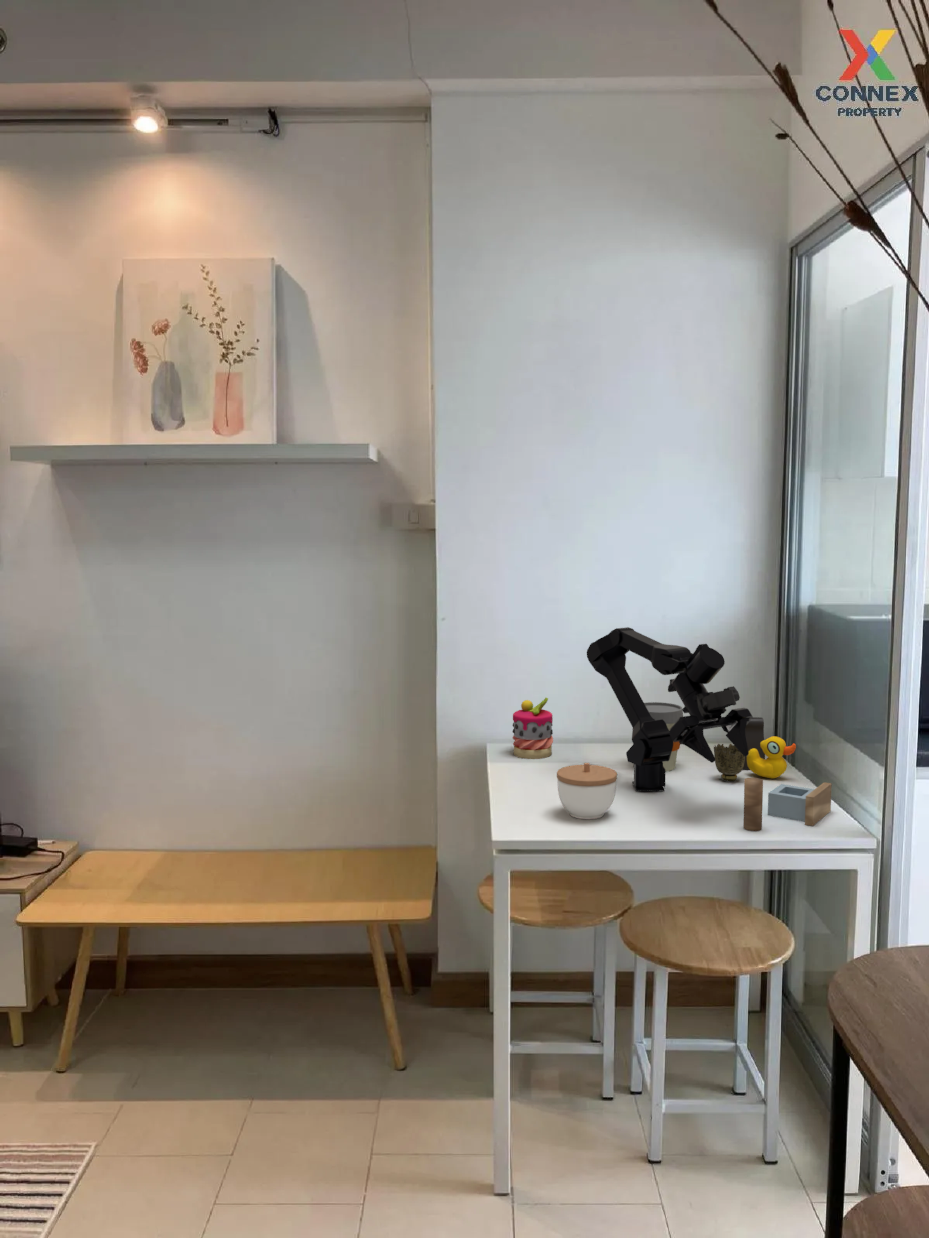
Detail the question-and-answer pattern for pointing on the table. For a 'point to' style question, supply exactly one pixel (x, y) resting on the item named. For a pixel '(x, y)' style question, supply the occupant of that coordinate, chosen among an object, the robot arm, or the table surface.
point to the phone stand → (754, 737)
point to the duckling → (770, 758)
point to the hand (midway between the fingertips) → (730, 758)
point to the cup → (728, 761)
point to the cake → (532, 731)
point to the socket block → (788, 802)
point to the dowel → (753, 804)
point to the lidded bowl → (586, 790)
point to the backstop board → (818, 804)
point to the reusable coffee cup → (670, 716)
